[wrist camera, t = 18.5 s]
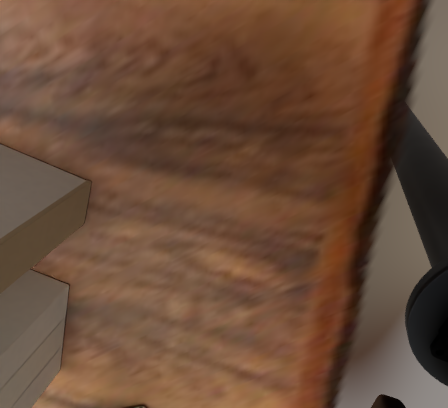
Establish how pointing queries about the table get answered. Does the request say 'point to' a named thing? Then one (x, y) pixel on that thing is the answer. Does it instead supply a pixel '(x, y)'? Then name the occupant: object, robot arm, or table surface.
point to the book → (35, 211)
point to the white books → (30, 337)
